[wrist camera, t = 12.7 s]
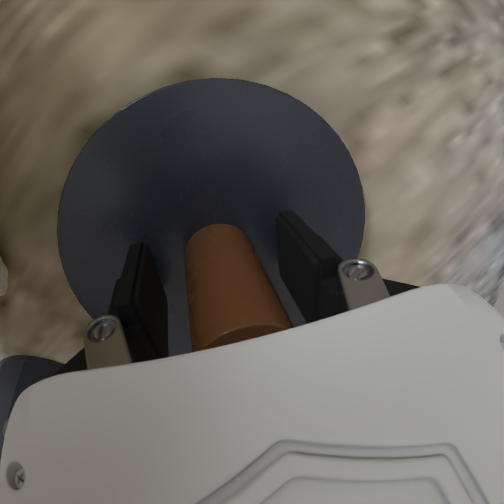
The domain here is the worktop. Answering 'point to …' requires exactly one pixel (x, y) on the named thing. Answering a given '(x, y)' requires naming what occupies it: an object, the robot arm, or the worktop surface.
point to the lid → (207, 205)
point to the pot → (20, 381)
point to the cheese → (3, 278)
